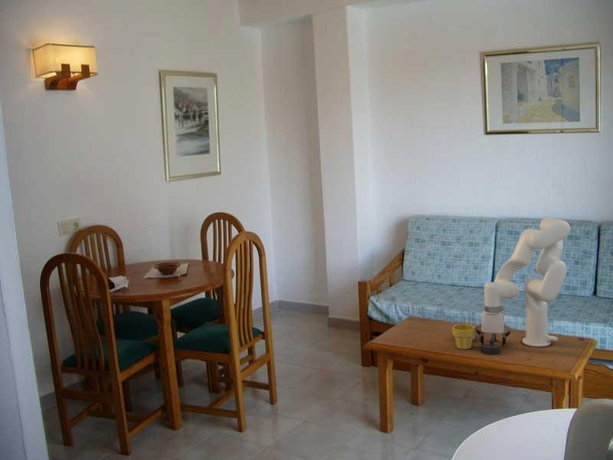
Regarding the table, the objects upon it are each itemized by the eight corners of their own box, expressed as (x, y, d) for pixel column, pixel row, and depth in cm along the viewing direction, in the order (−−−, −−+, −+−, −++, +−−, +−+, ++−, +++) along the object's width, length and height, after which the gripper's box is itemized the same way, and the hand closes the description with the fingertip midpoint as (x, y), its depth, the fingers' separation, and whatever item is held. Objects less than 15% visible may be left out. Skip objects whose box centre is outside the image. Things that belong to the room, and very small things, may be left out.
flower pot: (448, 347, 312) (447, 327, 311) (460, 342, 319) (460, 322, 318) (467, 352, 305) (466, 331, 303) (479, 346, 312) (479, 326, 310)
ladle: (498, 355, 299) (498, 346, 299) (482, 353, 302) (482, 345, 301) (501, 341, 319) (501, 332, 318) (486, 340, 321) (486, 331, 321)
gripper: (512, 307, 307) (513, 343, 309) (474, 306, 313) (474, 341, 316) (511, 312, 300) (512, 348, 303) (472, 310, 306) (473, 346, 309)
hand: (493, 344), depth 309 cm, fingers open, 8 cm apart
